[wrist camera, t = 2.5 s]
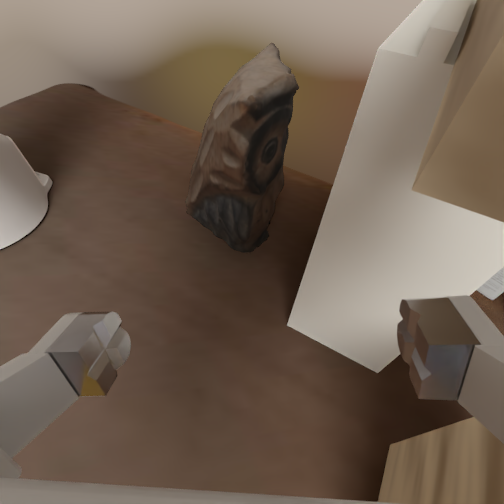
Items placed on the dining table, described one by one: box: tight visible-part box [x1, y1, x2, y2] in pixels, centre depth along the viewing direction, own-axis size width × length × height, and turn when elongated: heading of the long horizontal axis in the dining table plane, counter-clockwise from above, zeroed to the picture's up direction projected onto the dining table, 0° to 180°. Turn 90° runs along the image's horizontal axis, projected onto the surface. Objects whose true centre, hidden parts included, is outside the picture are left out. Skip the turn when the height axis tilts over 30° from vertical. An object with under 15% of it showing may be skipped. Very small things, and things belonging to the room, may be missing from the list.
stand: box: [287, 0, 504, 373], centre depth 25 cm, size 10×16×28 cm, turn 151°
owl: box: [185, 43, 299, 253], centre depth 35 cm, size 13×13×20 cm
